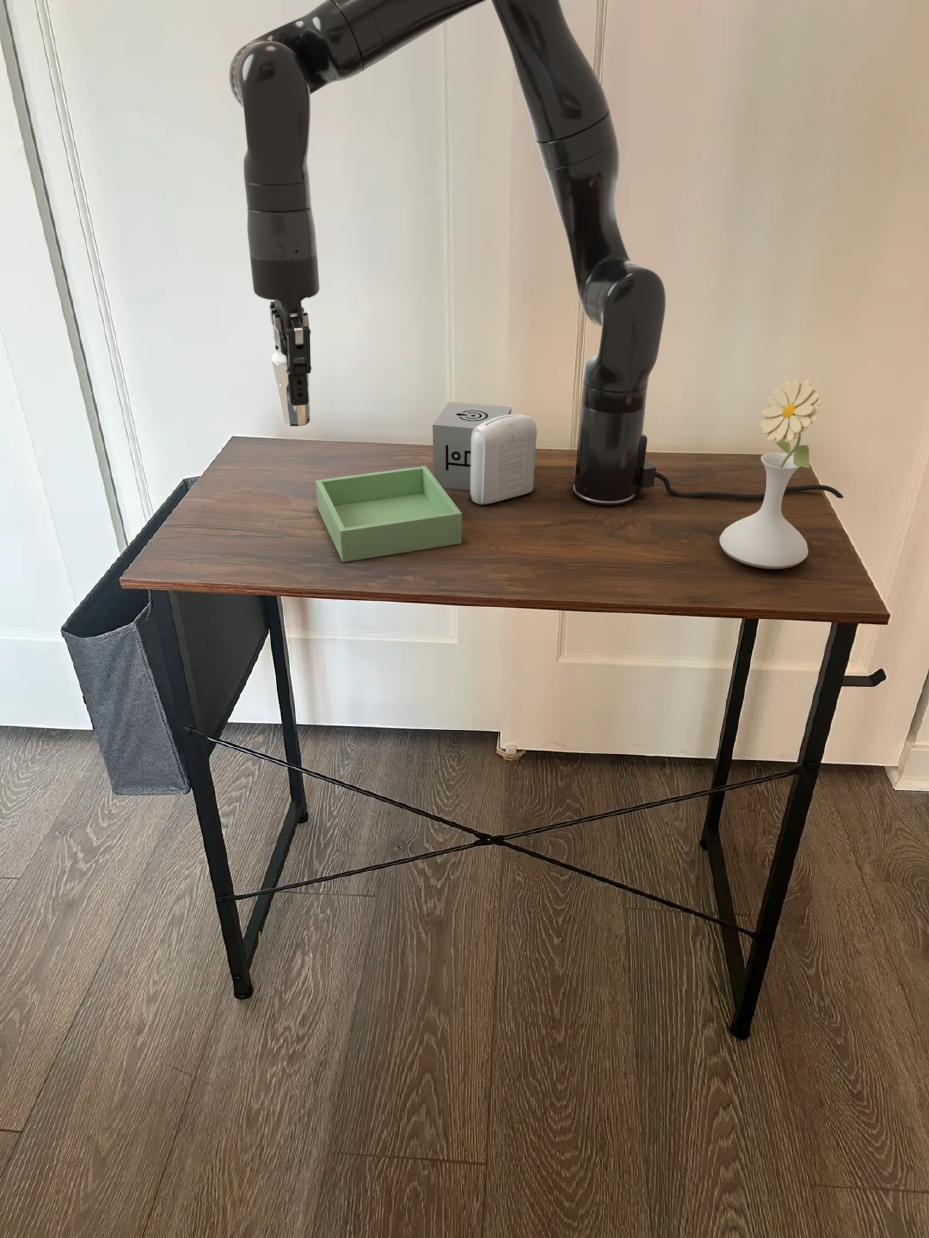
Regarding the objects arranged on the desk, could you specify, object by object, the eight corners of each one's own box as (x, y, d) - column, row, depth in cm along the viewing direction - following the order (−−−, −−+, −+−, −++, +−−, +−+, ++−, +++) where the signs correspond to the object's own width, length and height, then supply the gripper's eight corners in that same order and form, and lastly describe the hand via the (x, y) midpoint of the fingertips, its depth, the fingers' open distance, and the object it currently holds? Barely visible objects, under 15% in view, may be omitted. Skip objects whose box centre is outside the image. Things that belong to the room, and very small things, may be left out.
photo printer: (521, 482, 139) (524, 405, 132) (537, 492, 136) (542, 414, 129) (465, 498, 134) (466, 419, 127) (481, 509, 131) (483, 428, 125)
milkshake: (324, 416, 114) (318, 336, 109) (304, 430, 110) (296, 348, 104) (292, 412, 115) (284, 333, 110) (271, 426, 111) (262, 344, 106)
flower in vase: (709, 535, 125) (741, 356, 111) (792, 536, 125) (833, 358, 111) (730, 583, 114) (767, 392, 100) (820, 585, 114) (870, 393, 100)
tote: (426, 493, 136) (426, 465, 133) (461, 543, 123) (461, 513, 120) (318, 509, 131) (315, 480, 129) (342, 562, 118) (340, 531, 115)
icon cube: (433, 486, 138) (432, 424, 132) (449, 461, 146) (448, 401, 140) (497, 493, 136) (498, 430, 130) (509, 467, 144) (511, 407, 139)
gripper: (328, 262, 97) (338, 414, 106) (305, 237, 108) (315, 377, 117) (258, 265, 95) (274, 421, 104) (241, 240, 106) (257, 382, 115)
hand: (296, 397), depth 111 cm, fingers closed on milkshake, 4 cm apart
